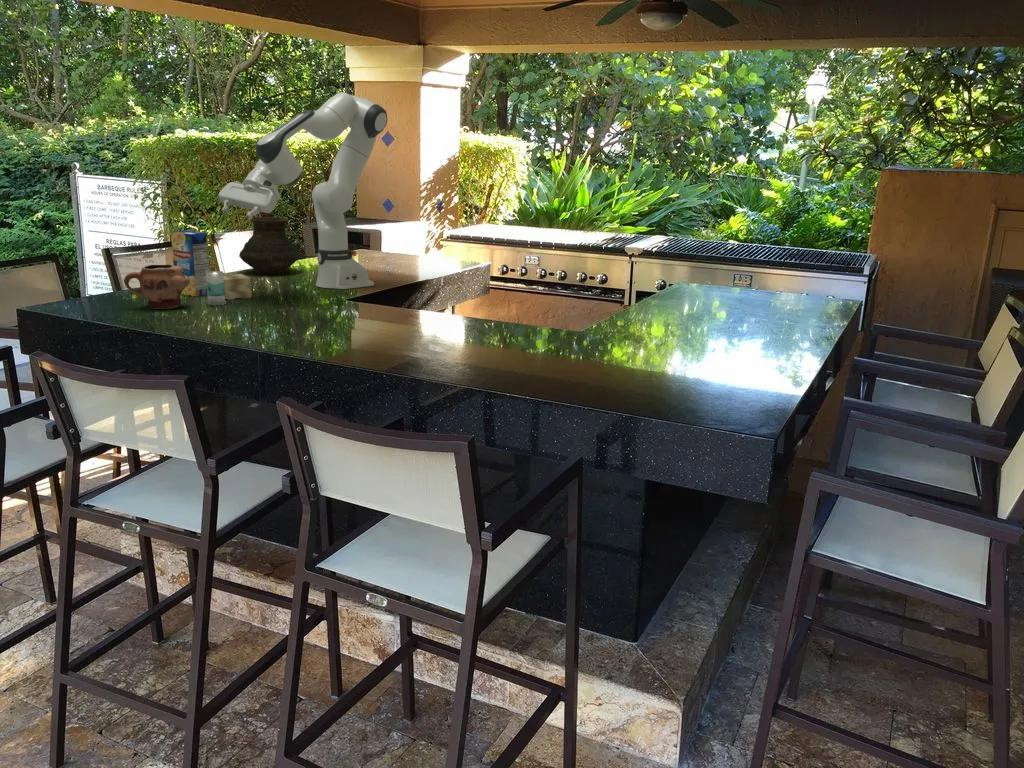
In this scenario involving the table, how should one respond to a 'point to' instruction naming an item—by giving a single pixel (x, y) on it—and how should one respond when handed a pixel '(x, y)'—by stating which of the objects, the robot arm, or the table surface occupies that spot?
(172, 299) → the decorative planter
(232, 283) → the oak block
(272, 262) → the ceramic pot
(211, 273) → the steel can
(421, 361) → the table surface
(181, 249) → the beverage box
